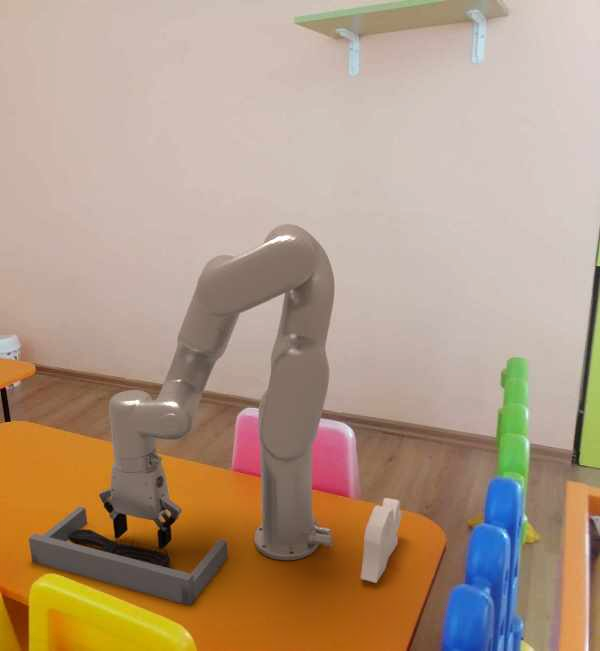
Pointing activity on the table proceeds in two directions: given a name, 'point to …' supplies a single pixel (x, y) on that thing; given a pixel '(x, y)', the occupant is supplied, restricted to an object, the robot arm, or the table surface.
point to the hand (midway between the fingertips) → (142, 539)
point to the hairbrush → (121, 548)
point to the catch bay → (122, 563)
